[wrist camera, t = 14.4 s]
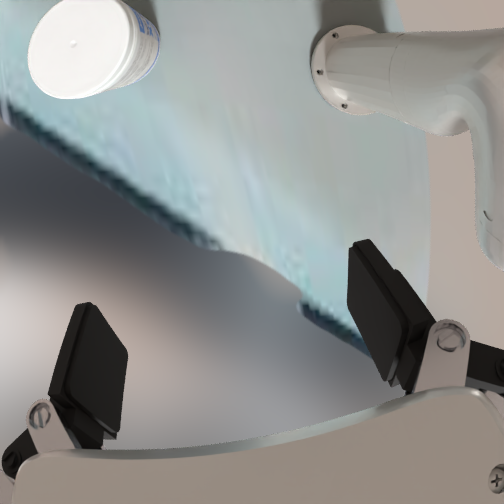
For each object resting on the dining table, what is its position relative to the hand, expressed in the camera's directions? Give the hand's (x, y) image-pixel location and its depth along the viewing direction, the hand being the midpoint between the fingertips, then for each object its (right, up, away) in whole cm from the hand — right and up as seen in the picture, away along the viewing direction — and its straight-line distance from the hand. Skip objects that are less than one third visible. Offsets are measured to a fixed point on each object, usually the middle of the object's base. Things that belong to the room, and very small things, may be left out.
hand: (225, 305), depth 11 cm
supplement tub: (-14, +26, +17) cm, 34 cm away
